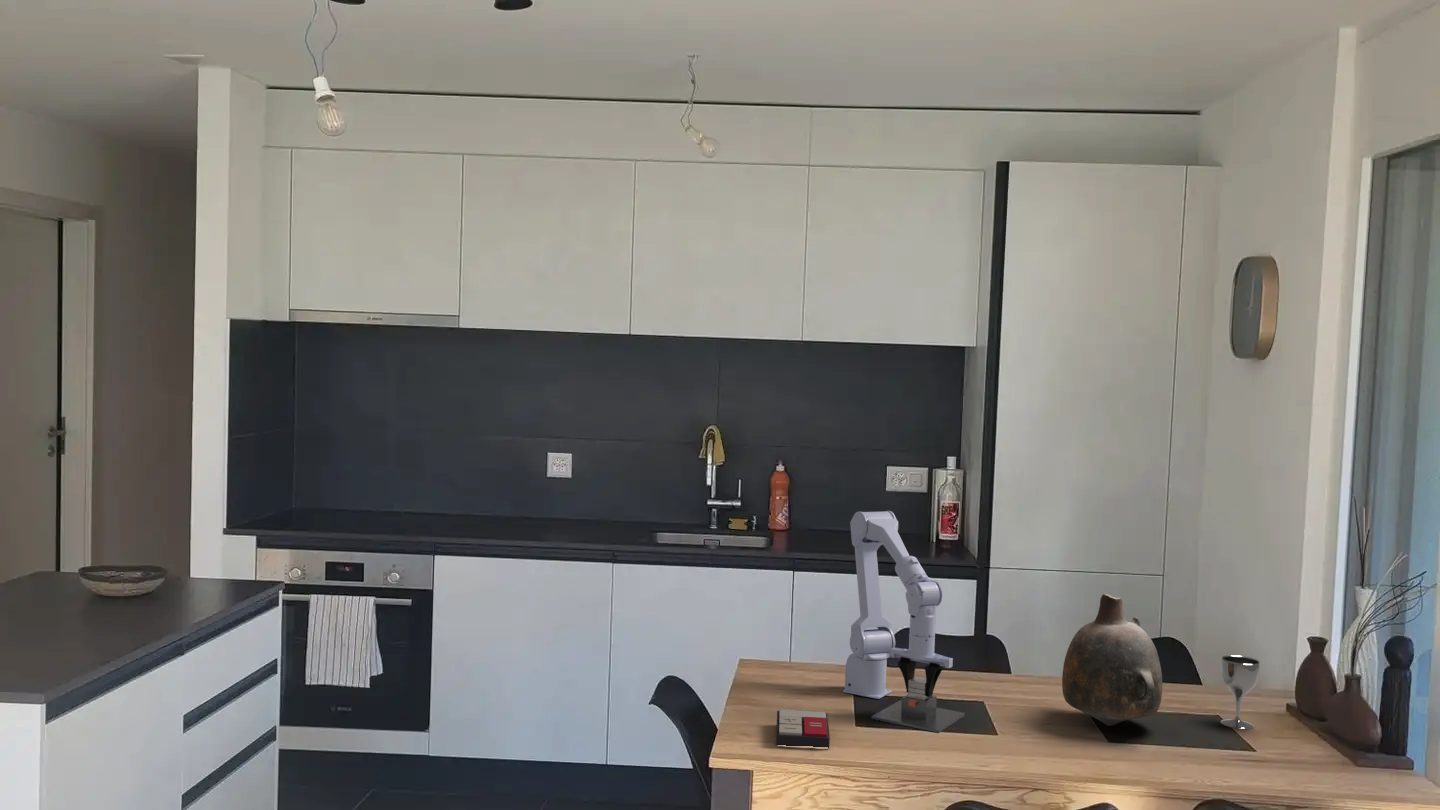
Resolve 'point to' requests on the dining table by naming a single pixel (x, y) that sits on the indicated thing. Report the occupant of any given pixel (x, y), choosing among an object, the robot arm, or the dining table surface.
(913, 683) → the column
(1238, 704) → the silver goblet
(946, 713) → the stand
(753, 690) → the dining table surface
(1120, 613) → the jug
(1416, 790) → the dining table surface
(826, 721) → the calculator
